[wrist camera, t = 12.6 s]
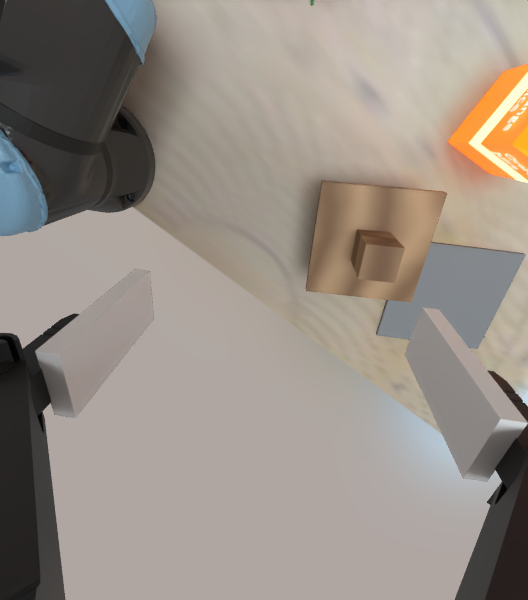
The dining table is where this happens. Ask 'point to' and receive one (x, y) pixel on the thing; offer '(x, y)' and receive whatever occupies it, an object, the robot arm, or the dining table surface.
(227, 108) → the dining table surface
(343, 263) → the lid
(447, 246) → the mat
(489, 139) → the orange juice
